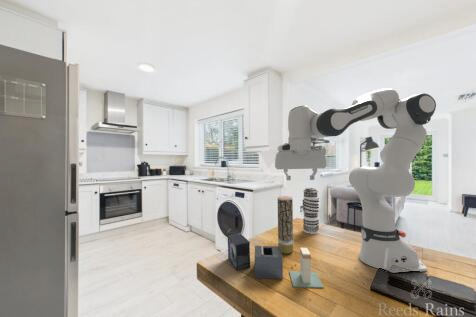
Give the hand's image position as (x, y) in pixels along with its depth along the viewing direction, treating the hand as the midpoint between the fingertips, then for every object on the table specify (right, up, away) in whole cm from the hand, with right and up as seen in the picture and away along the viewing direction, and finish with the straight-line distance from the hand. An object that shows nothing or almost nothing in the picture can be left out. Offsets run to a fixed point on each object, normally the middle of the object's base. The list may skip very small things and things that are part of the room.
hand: (300, 180), depth 85 cm
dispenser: (-14, -35, -5) cm, 38 cm away
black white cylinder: (+17, -34, +36) cm, 52 cm away
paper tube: (-3, -35, +12) cm, 37 cm away
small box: (-25, -35, +2) cm, 43 cm away
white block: (-1, -34, -11) cm, 36 cm away
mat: (-1, -35, -11) cm, 36 cm away
